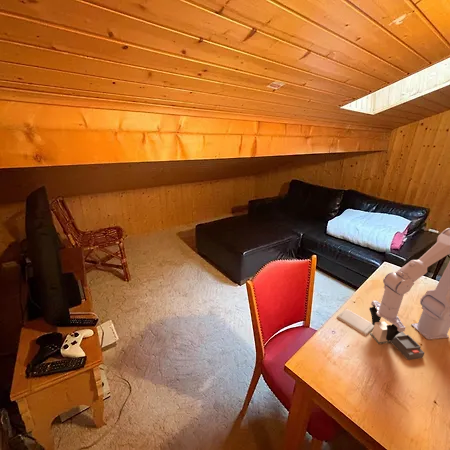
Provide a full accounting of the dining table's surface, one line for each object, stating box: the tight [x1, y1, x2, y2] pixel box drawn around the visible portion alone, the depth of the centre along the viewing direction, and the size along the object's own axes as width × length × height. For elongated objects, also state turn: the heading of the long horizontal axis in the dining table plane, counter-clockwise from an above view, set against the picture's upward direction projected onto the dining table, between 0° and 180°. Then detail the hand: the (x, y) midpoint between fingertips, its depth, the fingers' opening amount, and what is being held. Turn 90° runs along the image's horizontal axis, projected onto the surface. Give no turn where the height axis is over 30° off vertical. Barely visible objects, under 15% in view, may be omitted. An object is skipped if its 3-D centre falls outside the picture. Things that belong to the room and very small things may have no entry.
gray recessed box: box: [389, 331, 425, 361], centre depth 90 cm, size 6×10×4 cm, turn 7°
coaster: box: [369, 332, 391, 345], centre depth 95 cm, size 5×5×1 cm
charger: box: [371, 320, 389, 342], centre depth 94 cm, size 4×4×6 cm
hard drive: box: [336, 308, 374, 336], centre depth 103 cm, size 2×8×12 cm
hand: (381, 331), depth 94 cm, fingers open, 7 cm apart
